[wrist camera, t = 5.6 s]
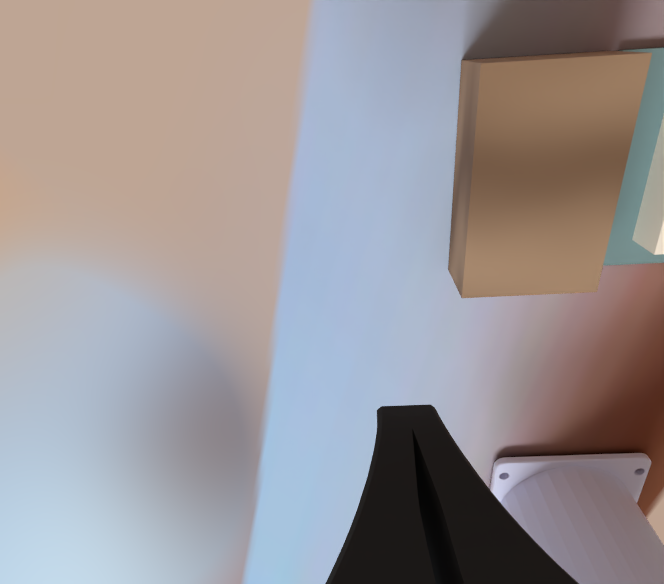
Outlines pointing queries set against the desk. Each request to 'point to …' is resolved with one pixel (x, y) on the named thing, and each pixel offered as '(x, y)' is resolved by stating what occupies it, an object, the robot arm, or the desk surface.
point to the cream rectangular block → (653, 204)
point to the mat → (638, 169)
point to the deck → (540, 169)
